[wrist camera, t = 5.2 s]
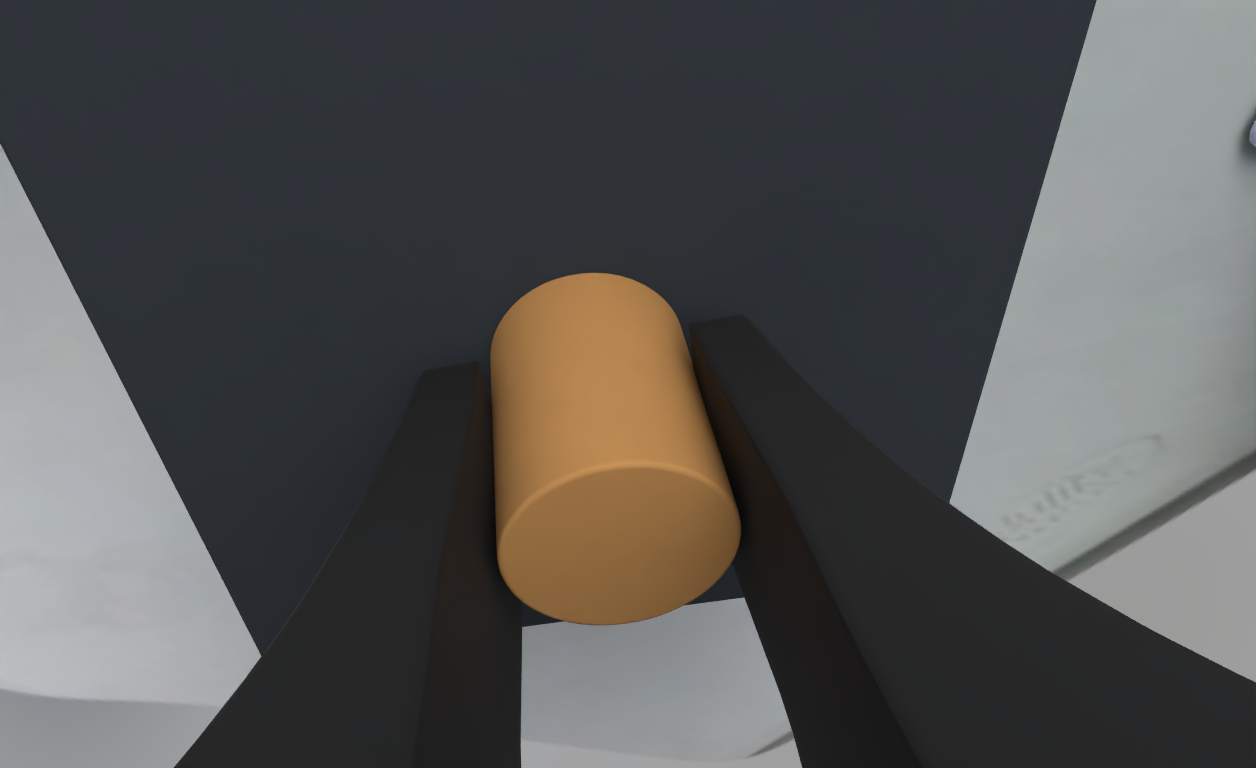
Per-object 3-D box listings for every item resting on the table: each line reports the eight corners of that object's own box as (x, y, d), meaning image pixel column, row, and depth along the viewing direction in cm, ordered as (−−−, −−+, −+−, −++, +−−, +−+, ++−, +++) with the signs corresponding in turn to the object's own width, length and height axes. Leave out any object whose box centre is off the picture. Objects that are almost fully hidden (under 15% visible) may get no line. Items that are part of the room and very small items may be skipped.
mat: (1108, -206, 9) (1454, -120, 6) (912, 538, 16) (1019, 754, 13) (-91, -137, 8) (-448, 10, 5) (271, 621, 15) (220, 876, 12)
